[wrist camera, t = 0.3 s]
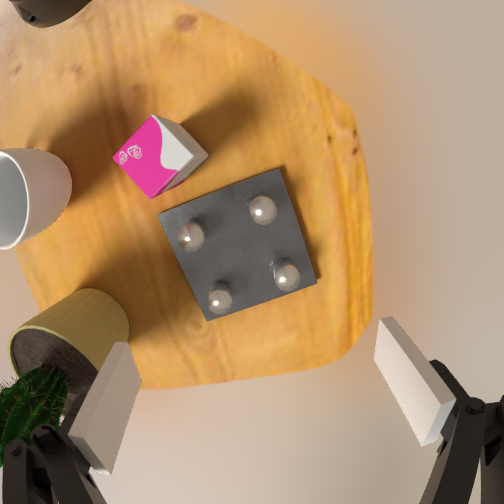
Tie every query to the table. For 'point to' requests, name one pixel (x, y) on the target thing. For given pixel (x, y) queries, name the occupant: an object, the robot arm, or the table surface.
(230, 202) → the chassis
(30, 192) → the mug
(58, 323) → the potted cactus
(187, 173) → the supplement box
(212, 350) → the table surface
